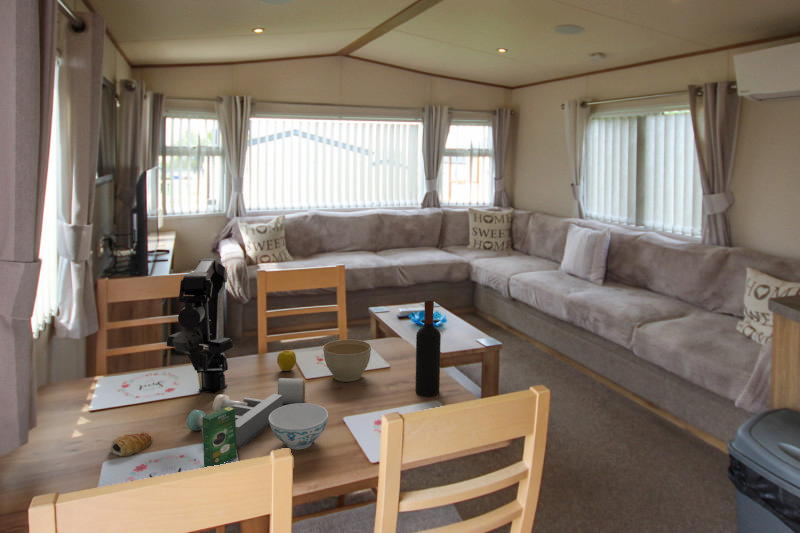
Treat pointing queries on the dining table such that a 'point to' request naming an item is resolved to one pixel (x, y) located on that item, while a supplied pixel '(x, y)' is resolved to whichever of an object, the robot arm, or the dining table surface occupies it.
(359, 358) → the planter bowl
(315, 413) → the chinaware
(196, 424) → the knob
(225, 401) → the knob
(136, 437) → the pastry
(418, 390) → the wine bottle
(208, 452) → the coffee box
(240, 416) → the mount
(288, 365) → the apple
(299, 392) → the ceramic mug
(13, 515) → the dining table surface
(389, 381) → the dining table surface
